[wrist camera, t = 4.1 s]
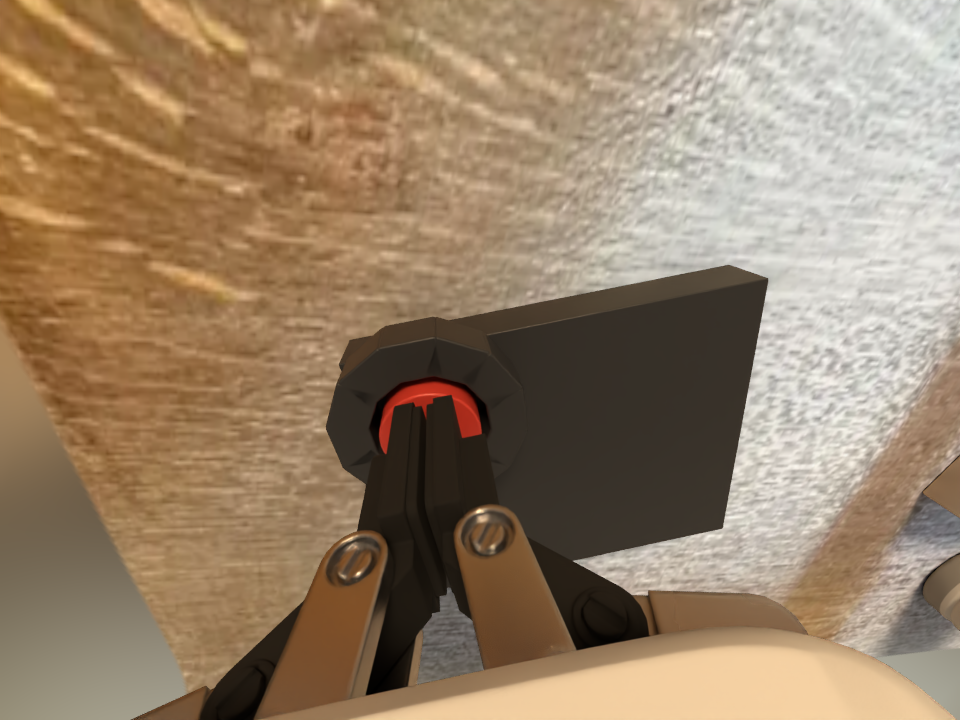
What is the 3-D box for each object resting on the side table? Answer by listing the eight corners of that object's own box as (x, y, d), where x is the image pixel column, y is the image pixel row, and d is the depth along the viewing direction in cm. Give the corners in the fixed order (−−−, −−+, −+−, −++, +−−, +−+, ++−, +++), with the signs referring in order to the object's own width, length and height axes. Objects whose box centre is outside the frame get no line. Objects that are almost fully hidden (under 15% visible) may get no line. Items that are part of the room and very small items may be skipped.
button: (398, 448, 14) (394, 485, 12) (373, 375, 12) (365, 406, 11) (482, 431, 14) (489, 465, 12) (467, 356, 12) (472, 384, 11)
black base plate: (417, 557, 19) (414, 632, 16) (327, 317, 13) (296, 364, 10) (698, 497, 20) (747, 560, 17) (732, 237, 14) (820, 260, 11)
